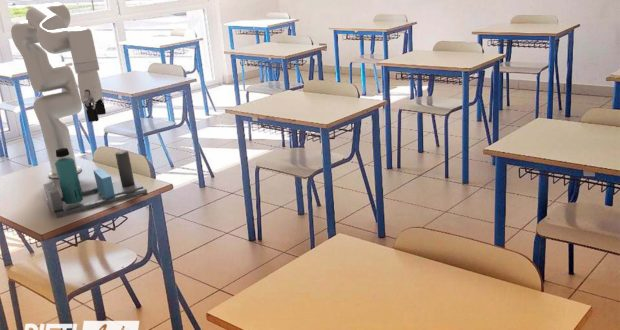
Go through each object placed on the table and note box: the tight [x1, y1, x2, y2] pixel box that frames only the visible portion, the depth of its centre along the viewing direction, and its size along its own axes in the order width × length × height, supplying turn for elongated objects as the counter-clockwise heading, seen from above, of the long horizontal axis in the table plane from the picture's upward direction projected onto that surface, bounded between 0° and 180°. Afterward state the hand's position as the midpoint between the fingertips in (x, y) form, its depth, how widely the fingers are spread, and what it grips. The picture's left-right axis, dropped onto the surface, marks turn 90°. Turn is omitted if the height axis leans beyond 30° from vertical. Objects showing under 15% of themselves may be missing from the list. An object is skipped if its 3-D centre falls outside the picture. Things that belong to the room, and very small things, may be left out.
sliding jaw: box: [93, 150, 144, 199], centre depth 222 cm, size 12×13×14 cm
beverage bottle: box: [55, 148, 84, 205], centre depth 213 cm, size 6×7×20 cm
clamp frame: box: [43, 180, 148, 219], centre depth 219 cm, size 17×30×8 cm, turn 122°
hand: (97, 117), depth 212 cm, fingers open, 9 cm apart
